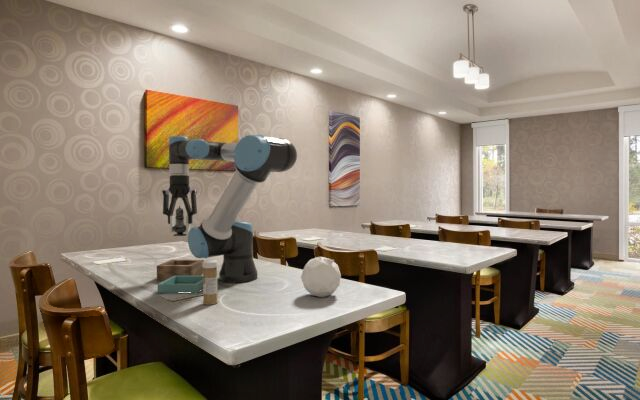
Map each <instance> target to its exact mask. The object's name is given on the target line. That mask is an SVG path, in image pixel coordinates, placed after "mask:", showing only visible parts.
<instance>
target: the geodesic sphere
mask: <svg viewBox="0 0 640 400" xmlns="http://www.w3.org/2000/svg"><path fill="white" fill-rule="evenodd" d="M300 278H301V282H302V285H303V287H304V290H306V292H307V293H308V294H310V295H311V296H315V297H320V298H325V297H328V296H330V295H333V294H334V293H335V291H337V289H338V287H340V283H341V279H342V274H341V271H340V267H339V265H338V264H337V263H336V262H335V259H333V258H329V257H328V258H327V257H325V256H316V257H314V258H311V259H309V260H308V261H307V263H305V265H304V267H303V270H302V273H301V276H300Z"/></svg>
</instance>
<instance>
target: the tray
mask: <svg viewBox="0 0 640 400" xmlns="http://www.w3.org/2000/svg"><path fill="white" fill-rule="evenodd" d="M202 289H203V275H201V276H173V277H171V278H169V279H167V280H165V281H160V282H159V283H157V294H179V293H178V292H191V293H197V292H199V291H200V290H202ZM202 291H203V290H202ZM200 292H201V291H200ZM200 292H199V293H200ZM197 294H198V293H197Z"/></svg>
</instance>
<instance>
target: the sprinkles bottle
mask: <svg viewBox="0 0 640 400" xmlns="http://www.w3.org/2000/svg"><path fill="white" fill-rule="evenodd" d="M202 267H203V275H202V276H203V290H202V294H203V297H202V298H203V301H202V303H203V305H206V306H207V305H215V304H217V303H218V302H219V301H218V260H215V259H207V260H204V261H203V263H202Z"/></svg>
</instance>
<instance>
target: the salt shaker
mask: <svg viewBox="0 0 640 400" xmlns="http://www.w3.org/2000/svg"><path fill="white" fill-rule="evenodd" d="M184 218H185V216H184V208H181V206H180V205H179V206H178V208H176V210H175V226H173V230H174V232H173V233H174V234H173V235H172V236H173V237H185V236H188V233H187V234H186V224H185V219H184Z"/></svg>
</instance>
